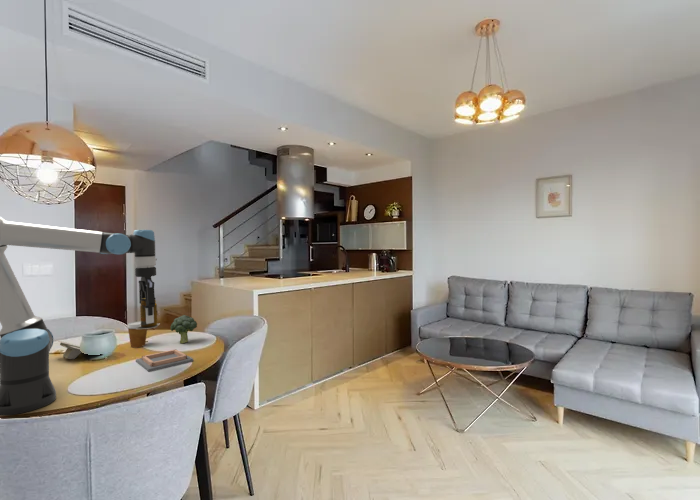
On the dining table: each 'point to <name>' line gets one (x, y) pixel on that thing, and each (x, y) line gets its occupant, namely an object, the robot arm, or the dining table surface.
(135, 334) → the disposable coffee cup
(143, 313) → the condiment
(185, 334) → the vegetable
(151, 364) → the holder
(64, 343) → the grey angled piece
